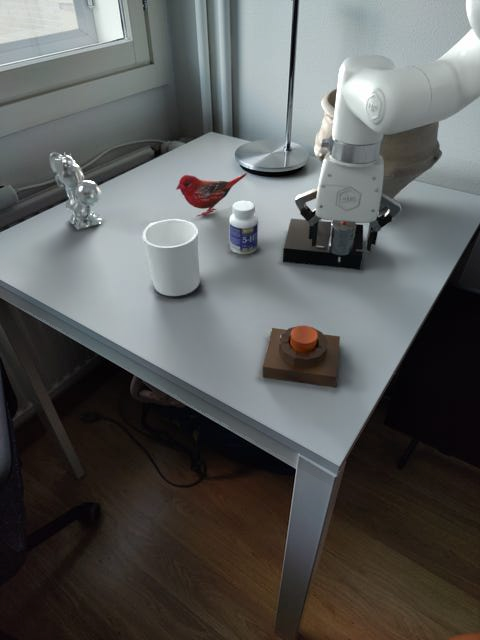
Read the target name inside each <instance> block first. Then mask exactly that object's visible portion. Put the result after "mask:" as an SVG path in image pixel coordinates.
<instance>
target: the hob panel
mask: <svg viewBox="0 0 480 640" xmlns="http://www.w3.org/2000/svg"><path fill="white" fill-rule="evenodd" d="M331 224H332V221H327V220H319V223H318V232H317V241H316V246H312V239H309V229H310V225H309V224H308V221H307V220H306V219H304V218H303V219H301V218H290V220H289V225H288V228H287V233H286V236H285V241H284V244H283V251H282V263H289V264H300V265H308V266H319V267H327V268H328V267H330V268H339V269H348V270H358V271H360V270H361V268H362V264H363V263H362V262H363V258H364V252H365V250H364V224H362V223H356V230H355V236H354V242H353V248H352V252H351V253H349V254H347V255H336V254H333V253H332V252H330V251H329V249H328V247H329V239H330V231H331Z"/></svg>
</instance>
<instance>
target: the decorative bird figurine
mask: <svg viewBox="0 0 480 640" xmlns="http://www.w3.org/2000/svg"><path fill="white" fill-rule="evenodd" d="M247 175H248V173H244V174H241V175H239V176H238V177H235V178H233V179H231V180H229V181H226V180H220V179H200V178H198V177H197V176H196V175H191V174H184V175H182V176H181V177H180V180H179V181H178V185H177V186H176V188H175V190H176V191H177V190H180V192H181V194H182V195H183V197H184V199H185V201H186V202H187V203H188V204H189V205H190V206H192V207H194V208H195V209H196V208H197V209H201V210H203V209H207V210H206V211H203V212H202V213H200V214H197V215H196V216H195V217H201V216H207V215H209V214H210V213H213V212H214V211H217V209H216V208H215V206H217V205H218V204H219V203H220V202H221V201H222V200H223V199H224V198H226V197H227V196H228V194H229V192H230V190H231V189H232V188H233V187H234V186H235V185H236V184H237V183H238V182H240V181H241V180H242V179H244V178H245V177H246V176H247Z"/></svg>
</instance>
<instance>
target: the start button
mask: <svg viewBox="0 0 480 640" xmlns="http://www.w3.org/2000/svg"><path fill="white" fill-rule="evenodd" d="M296 326H297V327H296ZM296 326H294V327H295V328H294V329H293V330H292V332H291V341H290V344H291V346H292V348H293V349H294V350H296V351H298V352H304V353H306V352H311V351H313V350H314V349H315V348H316V345H317V338H318V334H317V332H316V330H315V329H316V328H315V329H313V328H314V327H313V326H309V325H296ZM312 327H313V328H312Z"/></svg>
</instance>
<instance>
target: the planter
mask: <svg viewBox="0 0 480 640" xmlns="http://www.w3.org/2000/svg"><path fill="white" fill-rule="evenodd" d="M336 95H337V88H334V89H332V90H331V91H329V92H327V94H326V95H324V97H323V98H322V99H321V100H320V102H321V103H320V104H321V108H322V110H323V111H324V114H323V119H322V122H321V127H320V129H319V130H318V131H317V132H316V136H315V139H314V143H315V144H314V147H313V151H314V155H315V157H316V158H317V159H318V160H319V161H320V163H321V164H323V161H324V158H325V156H326V154H327V153H328V152H330V151H328V149H326V148H321V144H322V139H327V138H330V136H332V130H333V122H334V113H335V104H336ZM439 127H440V121H439V122H435V123H431V124H427V125H423V126H420V127H416V128H413V129H410V130H407V131H403V132H399V133H396V134H390V135H383V140H382V145H381V151H380V155H381V156H382V158H383V161H384V176H383V186H382V193H384V194H385V195H387V196H388V197H390V198H391V199H393V200H394V198H395V197H396V196H397V195H398V194H399V193H400V192H401V191H402V190H403V189H405V188H406V187H407V186H408V185H410V183H412V182H413V181H415V180H416V179H417V178H418V177H420V176H422V175H423V173H426V172H427V171H429V170H430V169H432V167H433V166H435V164H436V163H437V162H439V160H440V159H441V157H442V156H443V152H442V150H441V148H440V146H441V144H440V143H439V139H438V136H439V135H438V133H439ZM384 208H386V207H385V206H384V205H382V204H380V206H379V211H380V210H383V209H384Z"/></svg>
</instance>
